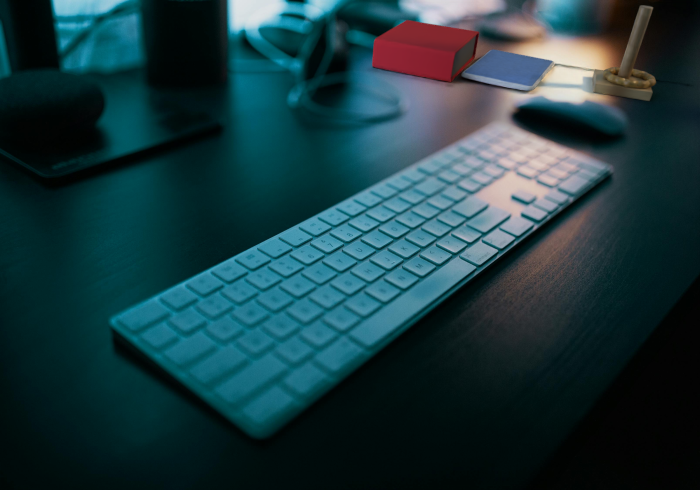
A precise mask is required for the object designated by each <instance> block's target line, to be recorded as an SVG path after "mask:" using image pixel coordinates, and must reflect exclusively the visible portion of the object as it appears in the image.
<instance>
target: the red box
mask: <svg viewBox="0 0 700 490" xmlns="http://www.w3.org/2000/svg"><path fill="white" fill-rule="evenodd" d="M479 36H480V31H478V30H477V31H476V30H471V29H465V28H459V27H452V26H444V25H440V24H433V23H427V22H421V21H415V20H409V19H405V20H404V21H403V22H400V23H399V24H397V25H396V26H394V27H392V28H391V29H389V30H387V31H386V32H384V33H382V34H381V35H379V36H377V37H375V39H374V41H373V49H372V62H371V67H372V68H375V69H380V70H386V71H390V72H396V73H401V74H406V75H410V76H416V77H422V78H427V79H432V80H437V81H442V82H448V83H452V82H453V81H454V80H455V79H456V78H457V77H458V76H459V75H460V73H462V72H463V70H465V69H466V67H467V66H469V65H470V64H471V62H472V61H473V60H475V58H476V53H477V49H478V42H479Z"/></svg>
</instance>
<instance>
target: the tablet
mask: <svg viewBox="0 0 700 490" xmlns="http://www.w3.org/2000/svg"><path fill="white" fill-rule="evenodd" d="M554 66H555V61H553V60H551V59H547V58H541V57H535V56H530V55H525V54H520V53H515V52H510V51H504V50H499V49H490V50H488V51H487V52H486V53H485V54H484V55H482V56H481V57H480V58H479V59H477V60H476V61H474V62H473V63H472V64H471V65H470V66H468V67H467V68H465V69H464V71H463V70H462V71H461V77H462V78H464V79H468V80H472V81H476V82H480V83H484V84H489V85H492V86H498V87H503V88H508V89H514V90H521V91H527V92H528V91H529V92H530V91H533V90H535V89H536V87H537V86H538V85H539V84H540V82H541V81H542V80H543V79H544V78H545V76H546V75H547V74H548V73H549V72H550V70H551V69H552V68H553V67H554Z"/></svg>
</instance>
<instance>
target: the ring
mask: <svg viewBox="0 0 700 490" xmlns="http://www.w3.org/2000/svg"><path fill="white" fill-rule="evenodd" d="M620 67H621V66H612V67H609V68H605V69H603V70H604V71H603V77H604V78H605V79H606V80H608V81H610V82H611V83H614V84H617V85H621V86H625V87H631V88H649V87H651V88H652V87H653V86H655V85H656V84H657V81H656V77H655V76H654V75H652V74H650V73H648V72H647V71H644V70H639V69H638V68H637V69H636V68H633V70H632V73H631V76H634V77H638V78H641V79H643V80H645V81H636V80H629V79H624V78H621V77H617V76H615V75H613V74H618V73H619V70H620Z"/></svg>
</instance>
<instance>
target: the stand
mask: <svg viewBox="0 0 700 490" xmlns="http://www.w3.org/2000/svg"><path fill="white" fill-rule="evenodd" d="M653 10H654V7H653V6H651V5H639V8H638V11H637V14H636V17H635V20H634V23H633V26H632V28H631V29H632V30H631V33H630V35H629V39H628V42H627V45H626V48H625V52H624V54H623V57H622V60H621V63H620V66H619V67H620V70H619V73H618V74H613V75H615V76H617V77H621V78H624V79H629V80H636V81H645V80H643V79H641V78H638V77H634V76H631V73H632V70H633V69H634V67H635V63H636V61H637V57H638V54H639V51H640V48H641V46H642V42H643V40H644V37H645V34H646V31H647V28H648V25H649V22H650V19H651V16H652V13H653ZM604 70H605V69H598V68H595V69H594V71H593V75H592V93H595V94H596V93H597V94H602V95H609V96H616V97H622V98H628V99H635V100H641V101H645V102H650V101H651V98H652V96H653V89H652V86H651V87H649V88H631V87H625V86H621V85H617V84H614V83H611V82H610V81H608V80H606V79H605V78H604V77H603V71H604Z"/></svg>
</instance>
